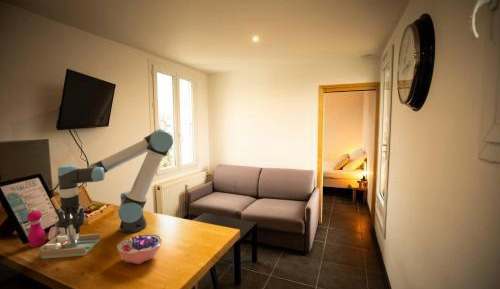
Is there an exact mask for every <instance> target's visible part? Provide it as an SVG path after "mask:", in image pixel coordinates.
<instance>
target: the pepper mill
mask: <svg viewBox="0 0 500 289" xmlns="http://www.w3.org/2000/svg"><path fill="white" fill-rule="evenodd" d="M42 217H43V213H42V212H41V211H40V210H37V209H36V208H35V207H34V208H32V209H31V212H29V213H28V214H27V215H26V219H27V221H28V224H29V225H30V230H29V232H28V235H27V240H28V242H29V247H31V248H36V247H41V246H43V245H45V244H46V238H45V237H46V232H45V230H44V229H43V227H42V224H41V222H42Z"/></svg>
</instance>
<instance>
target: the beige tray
mask: <svg viewBox="0 0 500 289" xmlns="http://www.w3.org/2000/svg"><path fill="white" fill-rule="evenodd" d="M65 240H68V239H67V236H62V234H59V235H58V236H57V235H55V236H54V238H53V239H52V240H49V241H48V242H45V243H44V244H43V245H41V246H40V247H39V248H38V250H39V251H38V252H39V259H41V260H42V259H43V260H44V259H54V258H55V259H56V258H68V257H69V258H70V257H78V256H79V257H80V256H81V257H82V256H86V255H87V254H88V252H89V253H90V251H91V250H92V249H93V248H94V247H96V245H97V244H98V243H99V242H100V241H101V235H100V233H94V234H93V233H91V234H90V233H89V234H79V238H78V239H77V241H79V240H80V245H78V246H77V247H73V248H63V249H61V248H60V249H57V243H63V242H64V241H65ZM70 241H71V240H70Z"/></svg>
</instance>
